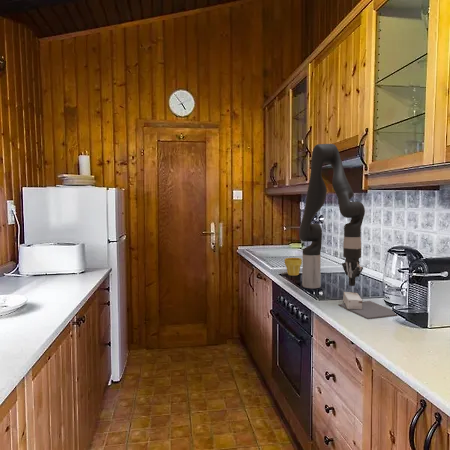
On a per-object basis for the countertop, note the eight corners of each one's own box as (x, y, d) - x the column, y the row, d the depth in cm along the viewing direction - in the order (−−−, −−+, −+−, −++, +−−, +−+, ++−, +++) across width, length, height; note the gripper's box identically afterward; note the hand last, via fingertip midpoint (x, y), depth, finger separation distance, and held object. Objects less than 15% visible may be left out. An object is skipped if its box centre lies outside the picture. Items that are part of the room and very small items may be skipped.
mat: (338, 305, 166) (338, 304, 166) (370, 302, 170) (370, 300, 170) (367, 319, 146) (367, 317, 146) (402, 315, 151) (402, 313, 151)
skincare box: (343, 300, 170) (346, 309, 158) (343, 291, 169) (347, 299, 157) (357, 301, 168) (362, 310, 157) (358, 291, 168) (362, 300, 156)
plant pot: (281, 274, 233) (281, 259, 232) (290, 272, 240) (290, 256, 240) (296, 277, 226) (295, 260, 225) (305, 274, 233) (305, 258, 233)
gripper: (336, 245, 173) (336, 283, 174) (353, 249, 161) (353, 289, 162) (350, 244, 175) (350, 282, 176) (369, 248, 163) (368, 288, 164)
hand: (352, 285), depth 169 cm, fingers closed
